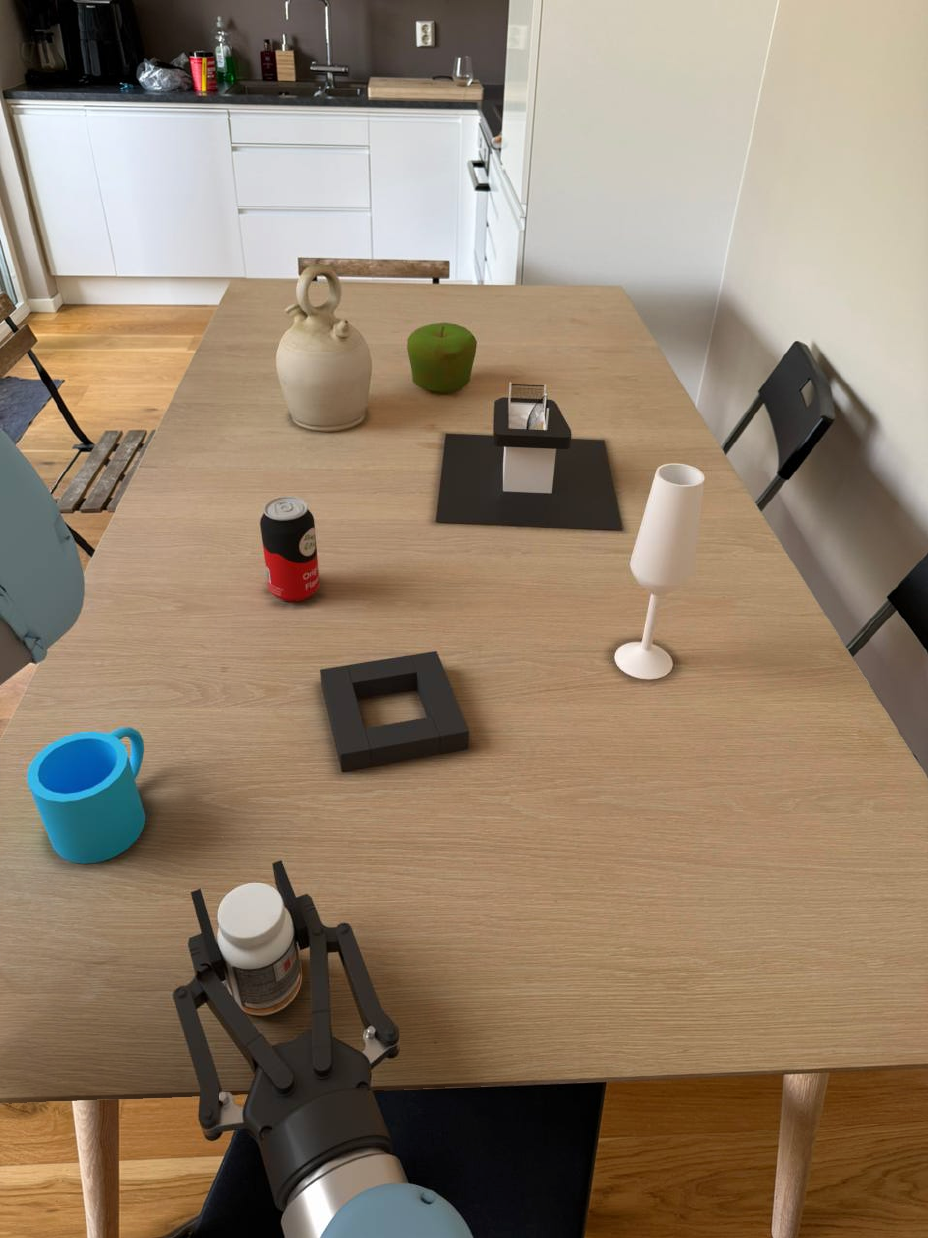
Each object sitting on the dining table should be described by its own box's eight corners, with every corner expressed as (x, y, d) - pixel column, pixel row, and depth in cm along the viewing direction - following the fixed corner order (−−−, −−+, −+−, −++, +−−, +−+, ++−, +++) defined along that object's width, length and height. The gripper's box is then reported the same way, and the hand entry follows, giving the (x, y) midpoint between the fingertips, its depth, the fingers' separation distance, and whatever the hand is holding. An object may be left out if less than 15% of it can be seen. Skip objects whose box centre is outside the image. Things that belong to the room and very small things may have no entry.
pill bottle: (316, 968, 71) (306, 892, 65) (276, 1031, 67) (261, 957, 61) (256, 940, 73) (241, 864, 67) (213, 1000, 69) (193, 925, 62)
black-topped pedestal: (622, 530, 125) (636, 443, 117) (435, 522, 125) (436, 435, 117) (604, 440, 147) (614, 362, 139) (445, 434, 147) (447, 355, 139)
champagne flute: (610, 672, 101) (642, 485, 86) (618, 637, 106) (649, 454, 91) (670, 684, 99) (713, 496, 85) (675, 648, 104) (716, 464, 90)
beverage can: (275, 610, 108) (264, 525, 101) (264, 581, 113) (253, 498, 105) (325, 599, 110) (318, 516, 103) (313, 572, 114) (305, 490, 107)
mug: (111, 874, 77) (89, 812, 72) (31, 850, 79) (5, 788, 74) (184, 776, 86) (170, 715, 82) (111, 756, 88) (93, 695, 83)
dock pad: (341, 772, 87) (340, 754, 86) (321, 686, 97) (319, 669, 96) (468, 748, 91) (469, 731, 89) (436, 667, 100) (436, 650, 99)
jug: (270, 407, 154) (253, 256, 138) (354, 392, 159) (347, 246, 144) (298, 444, 143) (284, 285, 128) (387, 427, 149) (383, 273, 133)
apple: (419, 370, 168) (419, 310, 161) (482, 378, 166) (484, 318, 159) (398, 396, 159) (397, 333, 152) (464, 405, 156) (466, 342, 149)
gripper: (192, 1285, 52) (125, 958, 69) (475, 1140, 59) (353, 874, 75) (170, 1238, 48) (104, 900, 64) (479, 1086, 54) (349, 816, 71)
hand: (239, 886), depth 70 cm, fingers closed on pill bottle, 6 cm apart
